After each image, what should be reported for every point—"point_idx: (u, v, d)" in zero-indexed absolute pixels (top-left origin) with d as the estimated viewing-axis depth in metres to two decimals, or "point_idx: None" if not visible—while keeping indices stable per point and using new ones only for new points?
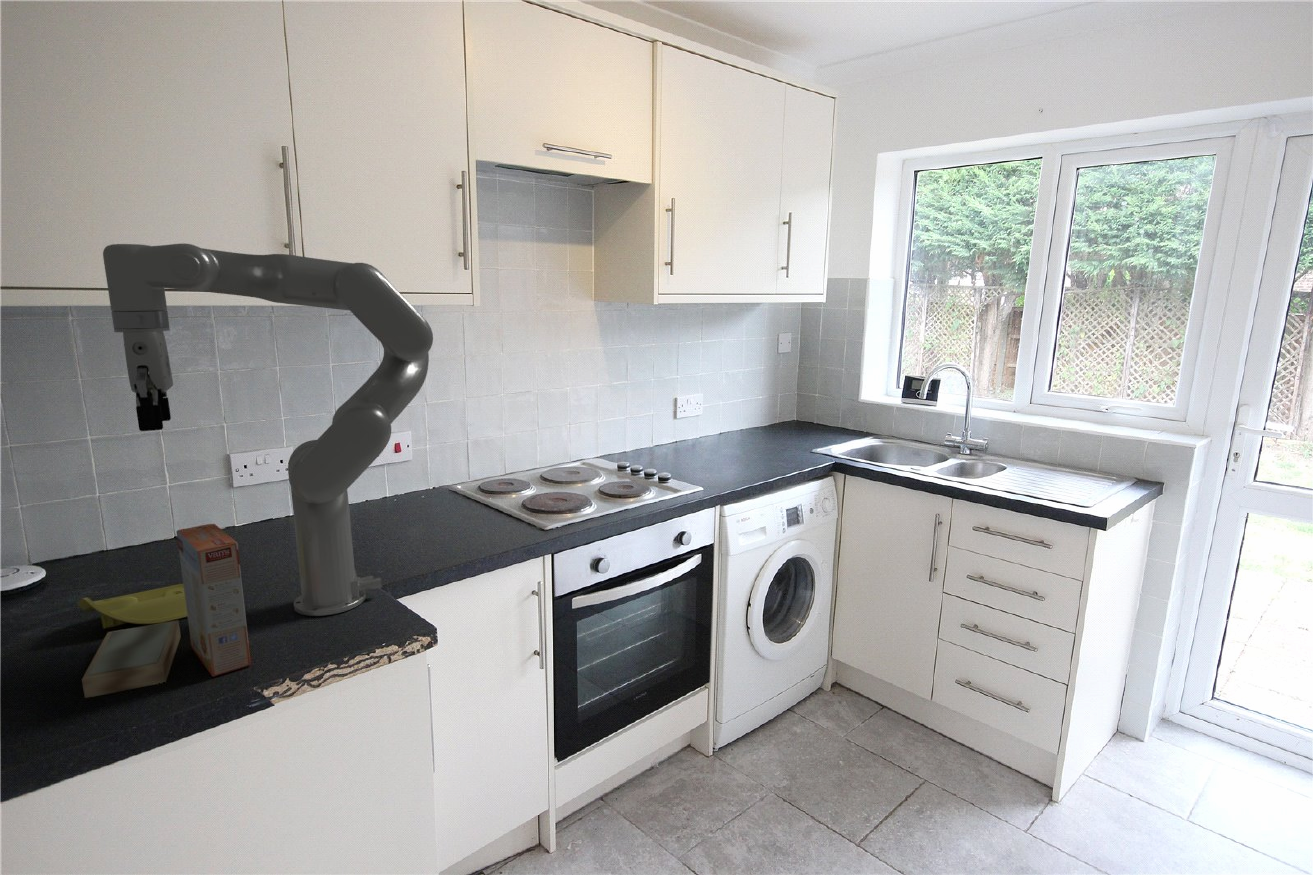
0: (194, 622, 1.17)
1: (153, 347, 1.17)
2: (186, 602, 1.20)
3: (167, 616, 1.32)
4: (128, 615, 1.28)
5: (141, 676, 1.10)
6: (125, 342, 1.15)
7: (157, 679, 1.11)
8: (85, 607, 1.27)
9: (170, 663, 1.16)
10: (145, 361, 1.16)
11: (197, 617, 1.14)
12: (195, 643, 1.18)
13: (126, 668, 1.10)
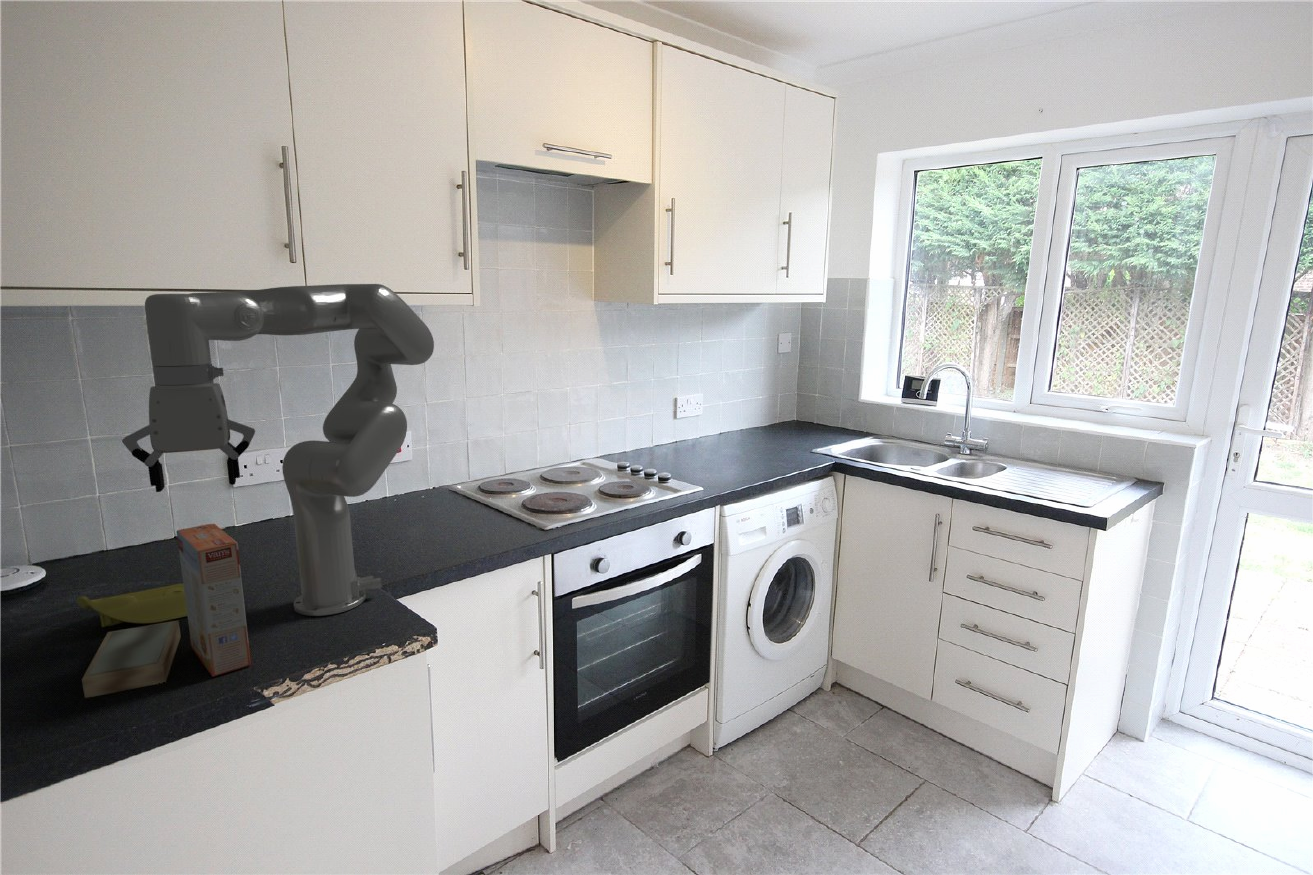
0: (194, 622, 1.17)
1: None
2: (186, 602, 1.20)
3: (164, 616, 1.32)
4: (126, 614, 1.29)
5: (141, 676, 1.10)
6: (216, 396, 1.11)
7: (157, 679, 1.11)
8: (83, 605, 1.27)
9: (170, 663, 1.16)
10: (226, 413, 1.14)
11: (197, 617, 1.14)
12: (195, 643, 1.18)
13: (126, 668, 1.10)
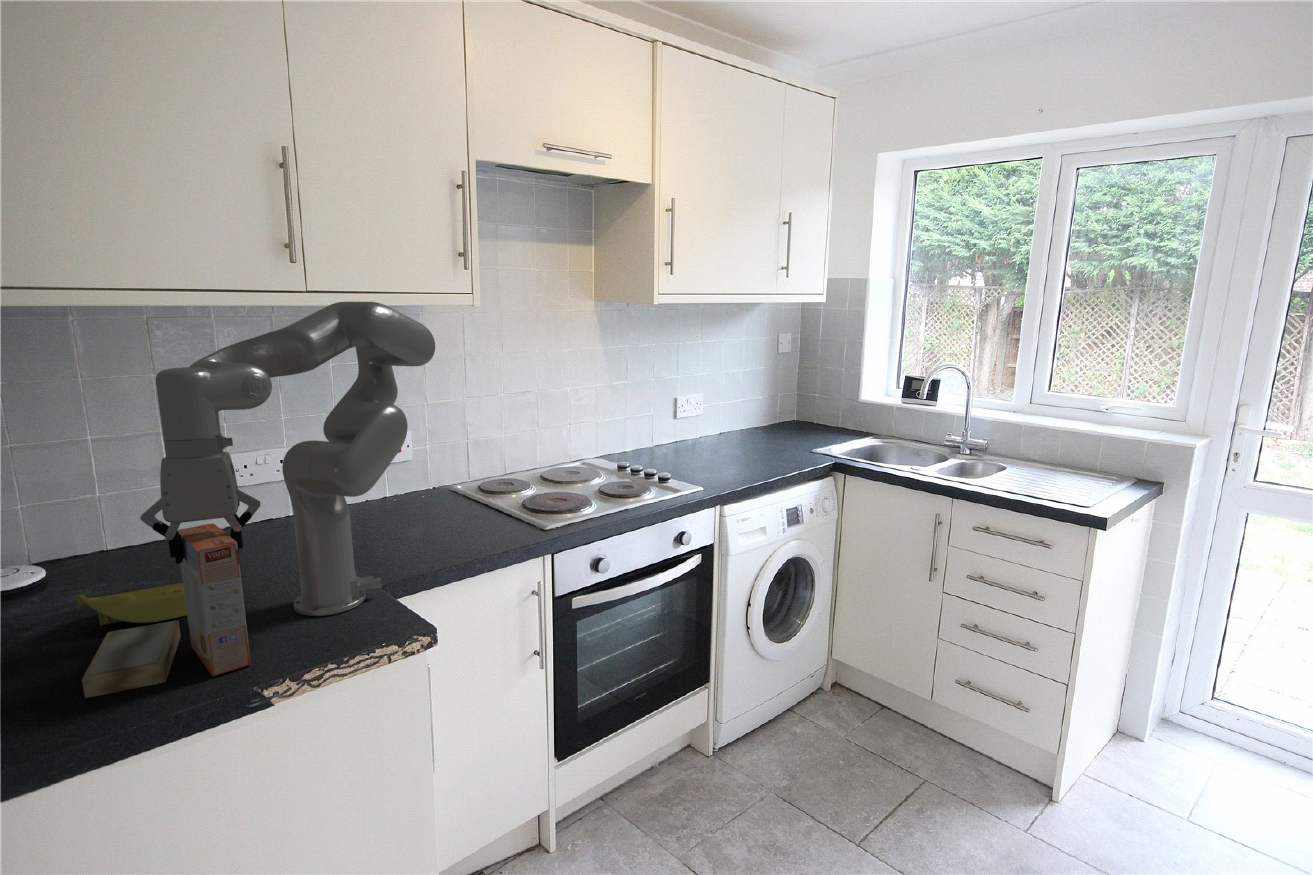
0: (194, 622, 1.16)
1: None
2: (186, 602, 1.20)
3: (161, 615, 1.32)
4: (123, 613, 1.29)
5: (141, 676, 1.10)
6: (226, 466, 1.13)
7: (157, 679, 1.11)
8: (82, 604, 1.28)
9: (170, 663, 1.16)
10: (236, 481, 1.16)
11: (197, 617, 1.14)
12: (195, 643, 1.18)
13: (126, 668, 1.10)
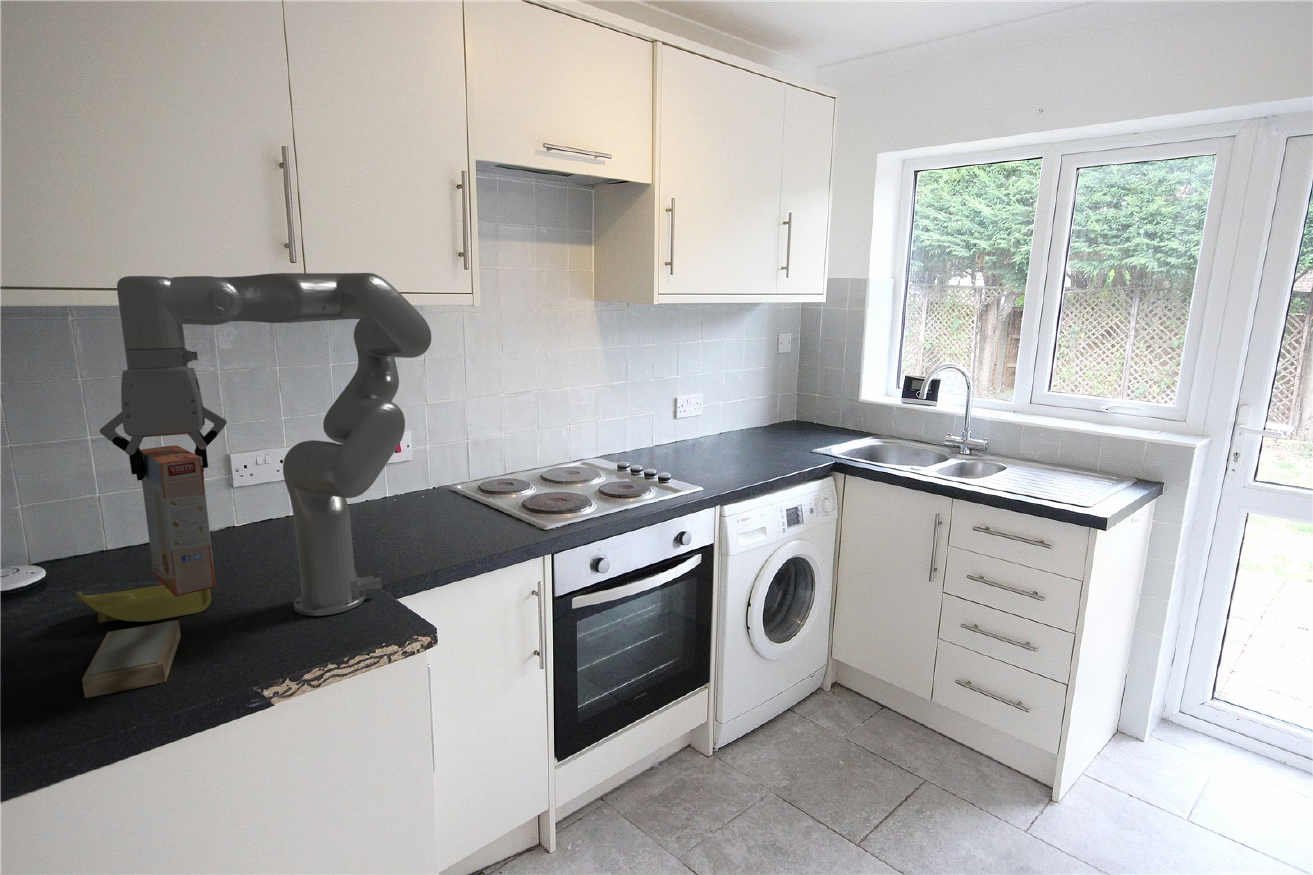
0: (156, 543, 1.13)
1: None
2: (148, 525, 1.16)
3: (158, 615, 1.33)
4: (119, 611, 1.30)
5: (141, 676, 1.10)
6: (191, 379, 1.10)
7: (157, 679, 1.11)
8: (81, 601, 1.29)
9: (170, 663, 1.16)
10: (201, 397, 1.13)
11: (159, 536, 1.10)
12: (157, 566, 1.14)
13: (126, 668, 1.10)
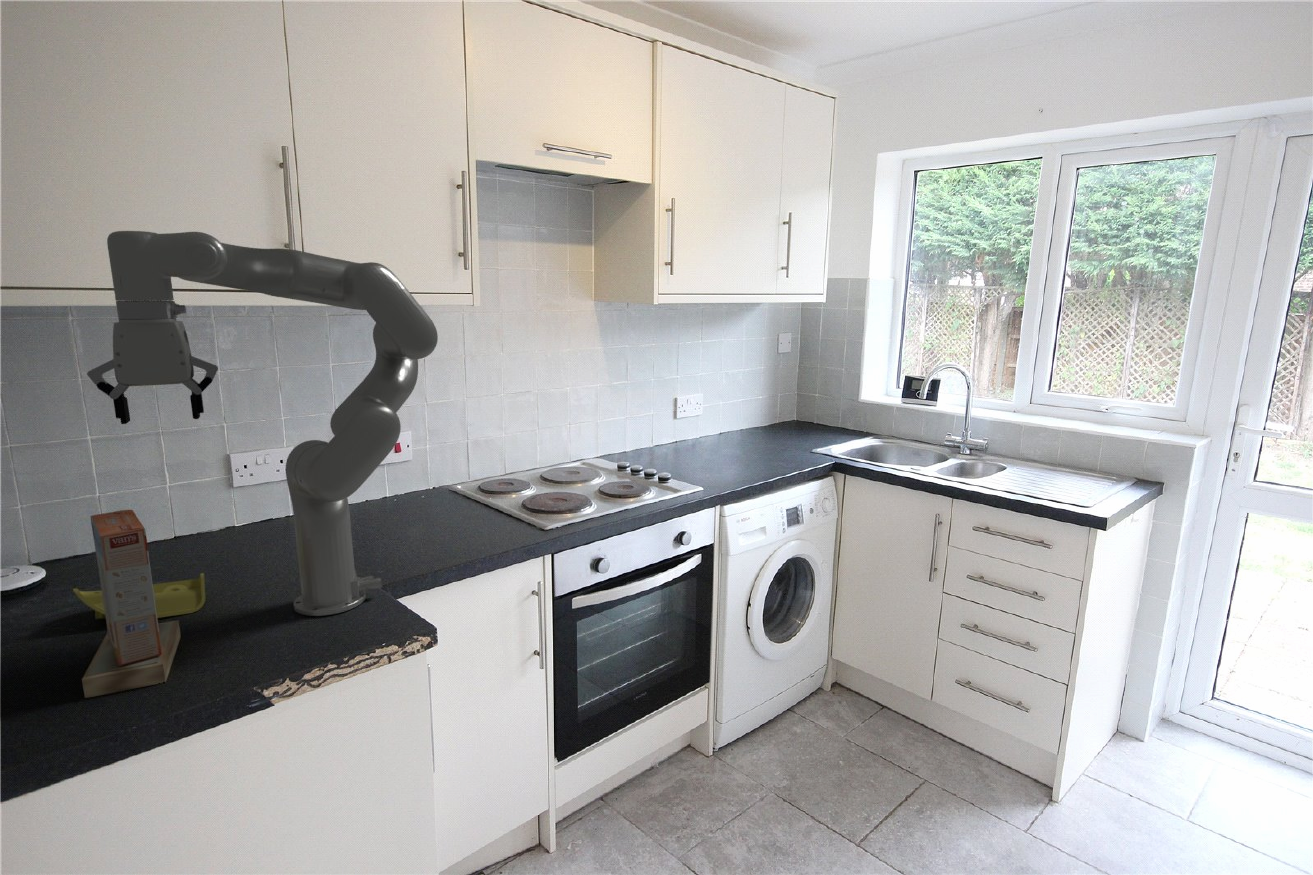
0: (105, 610, 1.14)
1: None
2: None
3: None
4: None
5: (141, 676, 1.10)
6: (178, 331, 1.15)
7: (157, 679, 1.11)
8: (78, 597, 1.31)
9: (170, 663, 1.16)
10: (189, 349, 1.18)
11: (106, 604, 1.11)
12: (108, 631, 1.15)
13: (126, 668, 1.10)
